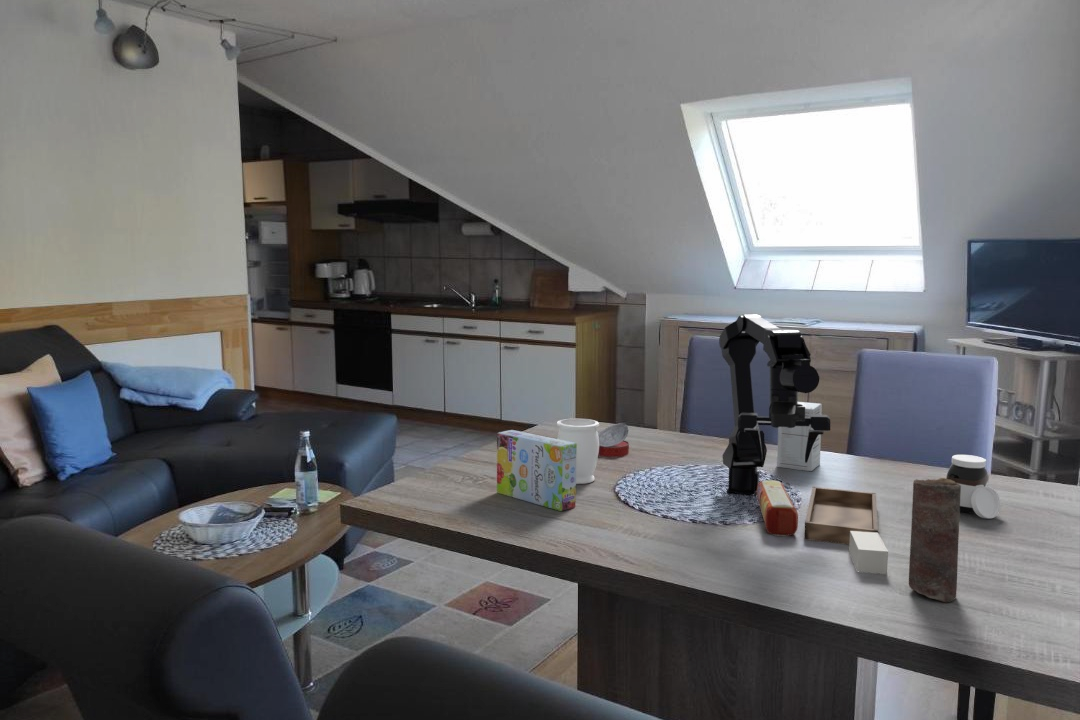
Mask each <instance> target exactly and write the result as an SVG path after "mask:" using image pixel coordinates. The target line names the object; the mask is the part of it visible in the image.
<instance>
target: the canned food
mask: <svg viewBox="0 0 1080 720" xmlns="http://www.w3.org/2000/svg"><path fill="white" fill-rule="evenodd" d="M628 434H629V426H628V425H627V424H626V423H625V422H619V423H615V424H612V425H610V426H608V427H606V428H605V429H604V430H602V431H600V432H598V436H599V453H598V456H601V457H606V458H621V457H625V456H628V455H629V453H630V452H629V451H630V450H629V449H630V447H629V445H630V443H629V442H628V441H626V440H625V439H626V438H627V437H628Z"/></svg>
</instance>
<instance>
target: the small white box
mask: <svg viewBox="0 0 1080 720" xmlns="http://www.w3.org/2000/svg"><path fill="white" fill-rule="evenodd" d="M848 546H849V547H848V553H849V555H851V556H850V558H851V560H852V562H854V563H853V565H854V568H855V570H856V569H857V570H856V572H857V571H859V572H858V573H863V572H870V573H869V574H876V573H880V574H879V575H888V563H889V562H888V561H889V550H888V549H887V547H886V545H885V543H884V541H883V539H882V538H881V535H880V534H879V532H878V533H875V532H860V531H850V543H849V545H848ZM881 573H883V574H881Z"/></svg>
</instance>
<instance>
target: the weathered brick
mask: <svg viewBox="0 0 1080 720" xmlns="http://www.w3.org/2000/svg"><path fill="white" fill-rule="evenodd" d="M912 486H913V487H912V505H911V507H912V509H911V513H912V514H911V529H910V531H911V532H910V547H909V550H910V551H909V562H908V563H909V567H908V586H909V588H910V589H911V590H913V591H916V592H917V593H918V594H920V595H923V596H925V597H927V598H929V599H933V600H936V601H940V602H941V603H942V602H943V603H951V602H953V601H954V600H955V599H956V598H957V589H958V585H957V584H958V564H959V563H958V561H959V560H958V559H959V536H960V535H959V534H960V518H961V517H960V514H961V512H960V495H961V485H960V484H958V483H955V481H952V480H950V479H946V477H940V478H937V479H914V480H913V483H912Z"/></svg>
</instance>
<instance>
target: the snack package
mask: <svg viewBox="0 0 1080 720" xmlns="http://www.w3.org/2000/svg"><path fill="white" fill-rule="evenodd" d="M756 502H757V503H758V504H759V508H760V511H761V515H762V518H763V520H764V526H765V529H766V532H767V533H768V534H769V535H772V536H781V537H787V536H788V537H789V536H792V535H794V534H795V533H797V530H798V527H799V526H798V525H799V523H798V522H799V515H798V514H799V513H798V511H797V508H796V507H795V505H794V504H793V501H792V500H791V498H790V497H789V494H788V493H787V491H786V488H785V485H784V484H783V483H782V482H781V481H778V480H773V479H772V480H770V479H769V480H761V481H759V483H758V486H757V491H756Z"/></svg>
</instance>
